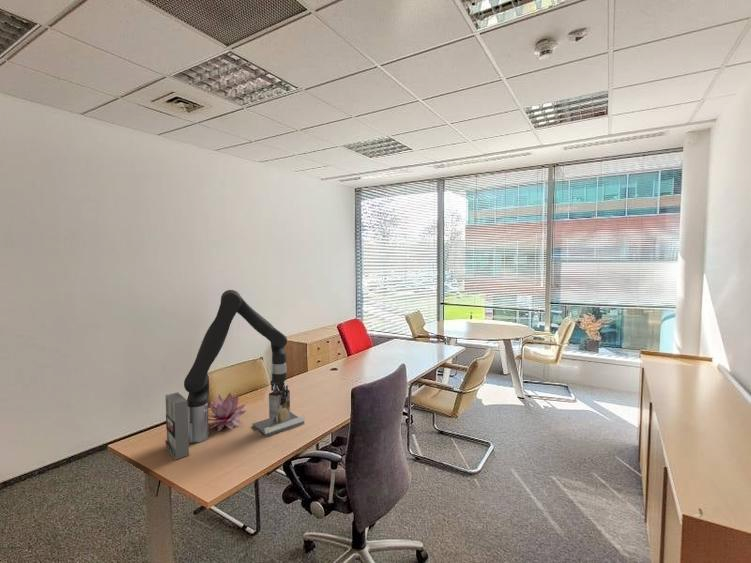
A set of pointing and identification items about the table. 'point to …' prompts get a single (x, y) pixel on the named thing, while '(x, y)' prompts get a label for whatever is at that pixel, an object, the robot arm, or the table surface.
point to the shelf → (278, 425)
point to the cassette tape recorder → (177, 425)
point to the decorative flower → (225, 412)
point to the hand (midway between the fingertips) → (279, 402)
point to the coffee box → (278, 408)
